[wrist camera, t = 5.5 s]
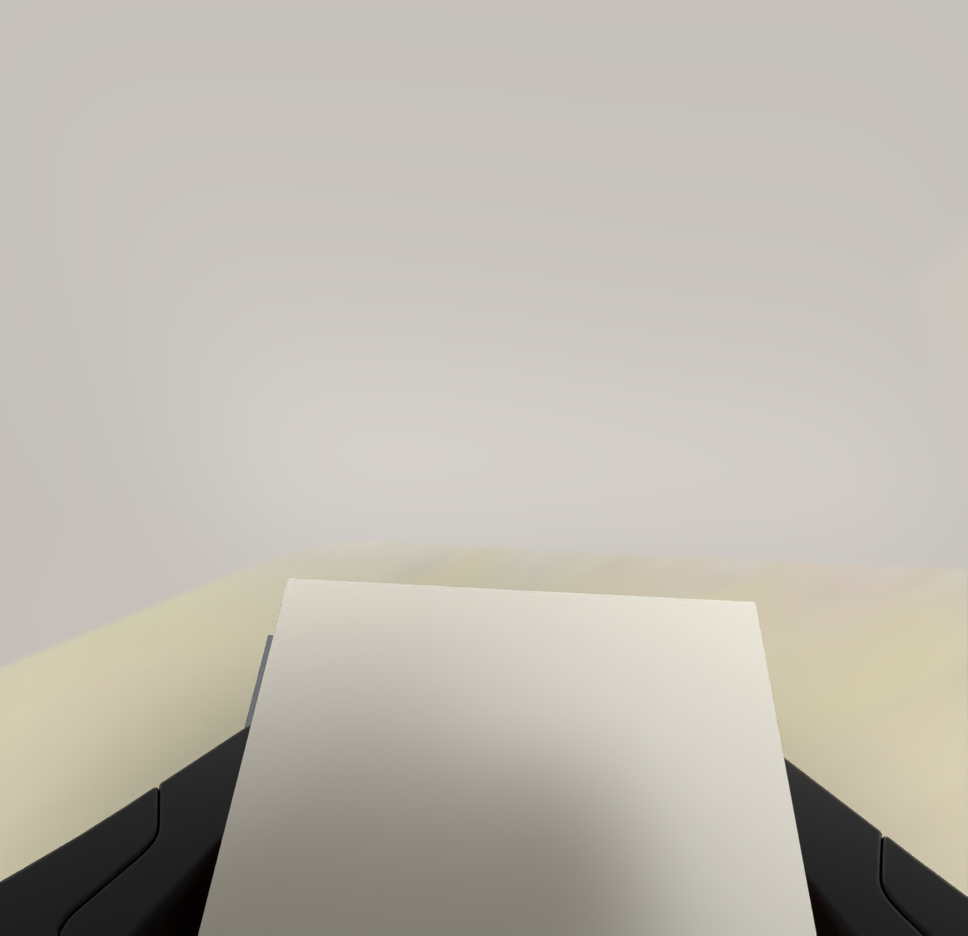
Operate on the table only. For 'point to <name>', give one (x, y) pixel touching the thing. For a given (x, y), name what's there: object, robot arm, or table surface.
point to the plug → (510, 771)
